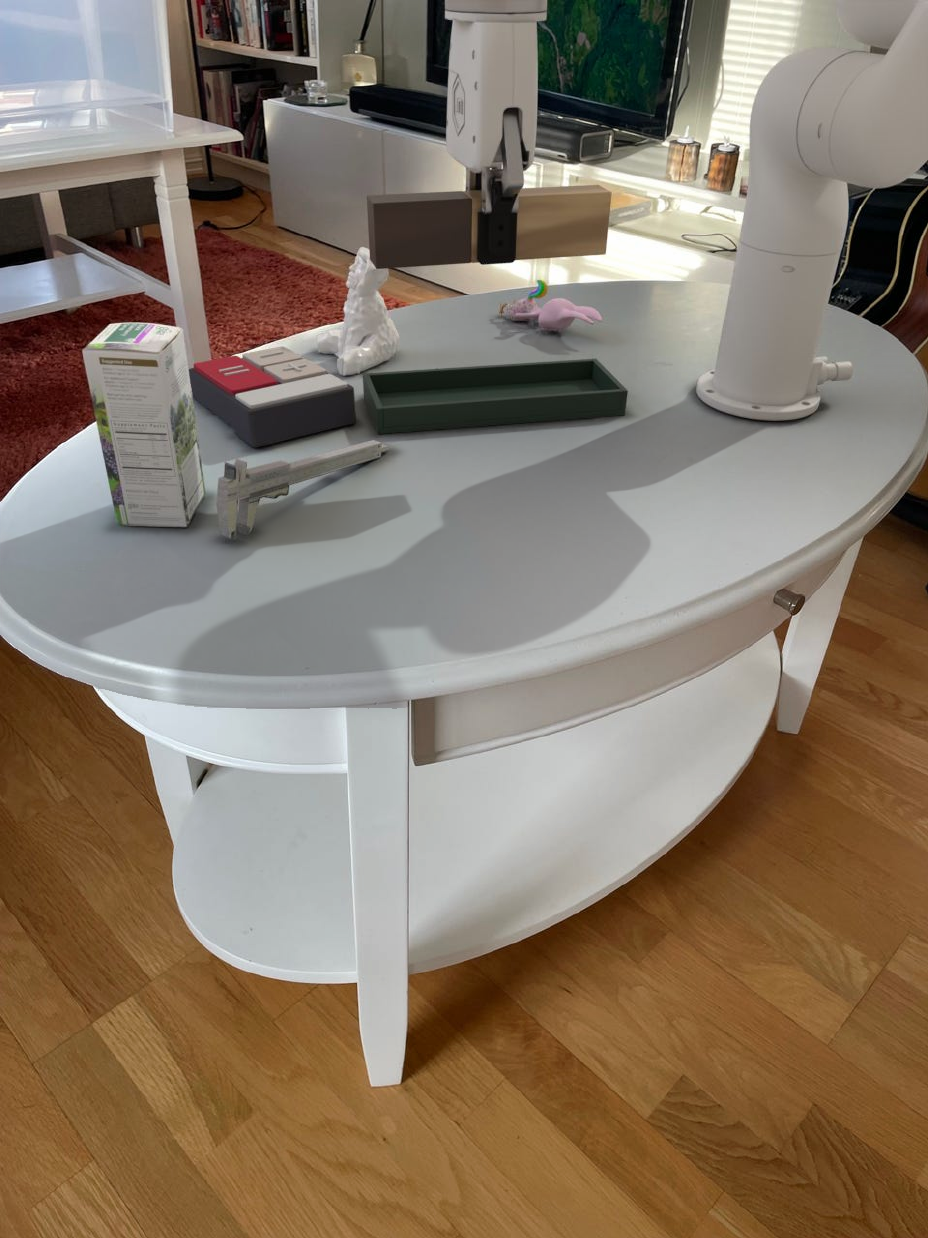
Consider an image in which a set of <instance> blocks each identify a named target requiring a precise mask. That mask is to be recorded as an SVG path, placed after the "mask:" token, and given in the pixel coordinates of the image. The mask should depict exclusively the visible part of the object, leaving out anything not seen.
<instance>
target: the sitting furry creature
mask: <svg viewBox="0 0 928 1238" xmlns="http://www.w3.org/2000/svg"><path fill="white" fill-rule="evenodd" d="M348 270H349V272H348V276H347V280H346V281H345V286H346V288H347V289H348V291H347V292H348V293H347V294H346V298H347V300H345V301H344V304H343V309H342V311H343V312H344V317H343V324H342V328H341V329H336V328H333V329H329V330H326V331H325V332H322V333H320V334H317V335H316V338H317V339H316V340H317V352H318V354H323V355H328V354H329V355H334V356H336V357H338V358H337V360H336V368H337V371H338V373H339V375H340V376H343V377H345V376H353V375H357V374H358V375H359V374H360V373H362V372H364V371H366V370H369V369H371V368H373V367H375V366H378V365H380V364H382V363H384V362H387V361H389V360H391V358H392V357H393V356H394V355H395V353H396V351H397V350H398V347H399V345H400V339H401V336H400V334H399V332H398V330H397V328H396V326H395V322H394V321H393V319H391V317H390V314H389V313H388V308H387V306H386V304H385V299H384V297H383V296H382V295H381V294H380V292H379V290H380V289H382V287H383V285H384V284H385V283H386V282H388V278H389V277H390V272H389V268H386V269H376V268H375V266H374V265H373V263H372V262H371V260H370V252H369V248H368V247H365V246H361V247H359V249H358V251H357V253H356V256H355V257H354V263H352V264H351V265H350V266H349V267H348Z"/></svg>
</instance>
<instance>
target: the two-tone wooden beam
mask: <svg viewBox="0 0 928 1238" xmlns="http://www.w3.org/2000/svg"><path fill="white" fill-rule="evenodd" d="M611 203H612V191H611V190H609V189H607V188H605V187H603V186H602V185H600V184H587V185H586V184H585V185H583V184H582V185H564V186H563V185H562V186H561V185H560V186H542V187H541V186H540V187H523V188H522V189H521V190H520V192H519V208H518V212H517V237H516V259H515V261H525V260H540V259H541V260H542V259H557V258H573V257H586V256H587V257H588V256H602V255H603V256H605V255H606V254H607V248H608V247H607V246H608V235H609V225H610V215H611ZM366 207H367V208H366V210H367V229H368V230H367V231H368V244H369V245H368V250H369V252H370V260H371V262H372V263H373V265H374V266H375V268H376V269H386V268H388V269H399V268H400V269H401V268H415V267H416V268H417V267H433V266H448V265H461V264H462V265H464V264H478V263H479V262H478V261H477V226H478V212H483V211H482V190H474V191H465V190H458V191H457V190H454V191H435V192H414V193H413V192H410V193H391V194H389V193H387V194H370V195H366ZM479 264H480V263H479Z"/></svg>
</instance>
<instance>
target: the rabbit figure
mask: <svg viewBox="0 0 928 1238" xmlns="http://www.w3.org/2000/svg"><path fill="white" fill-rule="evenodd" d="M536 283H537V288H535V289H533V290H531V291H530V293H528V295H527V296H526V297H525V298H518V300H515V298H514V297H512V299H513V302H512V304H510V303H508V302H507V301H505V302H504V304H502V302H501V301H499V304H500V305H499V310H498V316H499V315H500V318H501V317H503V314H504V313H505V311H504V308H505V310H506V313H507V316H508V318H509V319H510V320H511V321H512V322H528V321H530V320H531V321H532V322H538V325H539V326H540V327H541V328H542V329H545V330H547V331H548V332H558V330H564V329H567V328H568V327H570V326H571V325H572V324H573V322H574V321H575V319H579V320H582V321H584V322H585V323H588V324H590V325H594V324H595V322H594V321H597V322H599V323H601V322H603V318H602V316H601V313H600V312H599V311H598V310H597V309H595V308H594V307H590V306H584V305H581V306H579V305H578V306H577V305H575V304H574V303H573V302H571V301H570V300H568V299H566V298H562V297H556V298H552V299H550V300H548V301H547V302H546V303H545V304H544V305H543V307H539V306H538V305H537V302H536V300H535V299H542V298H544V297H545V296H546V295H547V294H548V289H549V288H548V284H547V283H546V282H545V281H544V280H542V279H538V280H537V279H536ZM593 320H594V321H593Z"/></svg>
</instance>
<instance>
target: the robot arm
mask: <svg viewBox="0 0 928 1238" xmlns="http://www.w3.org/2000/svg"><path fill="white" fill-rule="evenodd" d="M547 11H548V0H444V19H445V20H447V21H448V20H449V21H452V25H451V33H450V44H449V55H448V57H449V58H448V73H447V96H446V97H447V99H446V125H445V126H446V127H445V128H446V130H445V147H446V151H447V153H448V154H449V156H451V158H453V159H454V160H455V161H456V162H458V163H459V164H460V165H461V166H463V167H464V168H465V190H464V191H474V190H482V211H483V212H478V226H477V261H478V262H479V264H480V265H481V266H482V265H483V266H485V265H503V264H512V263H515V262H516V260H515V259H516V237H517V212H518V208H519V192H520V190H521V189H522V188H524V184H525V176H524V175H525V174H524V172H526V171H527V170H528V169H530V167H532V165H533V164H534V159H535V153H536V143H537V142H536V141H537V126H538V125H537V124H538V95H539V93H538V91H539V90H538V88H539V86H538V80H539V75H538V74H539V73H538V72H539V69H538V67H539V65H538V63H539V62H538V61H539V59H538V57H539V56H538V55H539V52H538V24H537V22H544V21H547V13H548V12H547ZM836 17H837V20H838V23H839V26H840V27H841V28H842V30H843V31H844V33H845V34H846V35H847V36H849V37H850V38H851V39H853V40H854V41H856V42H858V43H861V44H864V45H868V46H871V47H875V48H879V49H885V50H888V51H886V53H885V54H881V53H874V52H869V51H865V50H858V49H851V48H850V49H849V48H843V47H835V46H834V47H833V46H813V47H806V48H802V49H799V50H797V51H794V52H792V53H789V54H787V55H786V56H785V57H783V58H781V59H780V60H779V61H778V62H776V64H775V65H774V66H773V67H771V69H770V70H768V72H767V73H766V75H765V76H764V77H763V80H762V81H761V83H760V85H759V87H758V89H757V92H756V94H755V96H754V99H753V103H752V107H751V112H750V118H749V119H750V120H749V121H750V122H749V155H748V156H749V163H748V164H749V165H748V180H747V189H746V197H745V204H744V210H743V217H742V222H741V227H740V232H739V237H738V243H737V248H736V253H735V258H734V265H733V269H732V276H731V279H730V286H729V292H728V296H727V302H726V307H725V312H724V319H723V323H722V328H721V334H720V340H719V344H718V350H717V355H716V361H715V367H714V369H711V370H708V371H706V372H704V373H703V374H702V375H700V376H699V377H698V378H697V383H696V387H695V393H696V395H697V397H698V398H699V399H700V400H701V401H702V402H703V403H705V404H706V405H708V406H709V407H711V408H713V409H715V410H716V411H720V412H723V413H725V414H728V415H732V416H736V417H739V418H744V419H749V420H757V421H767V422H769V421H770V422H779V421H781V422H783V421H792V420H798V419H802V418H806V417H808V416H810V415H812V414H814V413H815V412H816V411H817V410H818V408H819V406H820V402H821V398H822V396H821V392H820V391H819V390H818V388H817V387H818V386H822V385H823V384H824V383H825V382H826V381H827V382H828V381H829V382H830V381H831V382H839V381H848V380H850V379H851V378H852V377H853V373H854V366H853V363H852V362H851V361H849V360H847V361H835V362H831V363H830V362H829V359H828V357H827V356H816V354H817V350H818V345H819V341H820V338H821V333H822V330H823V325H824V322H825V317H826V313H827V309H828V305H829V301H830V297H831V292H832V289H833V284H834V280H835V276H836V273H837V268H838V264H839V260H840V257H841V253H842V249H843V246H844V242H845V238H846V233H847V227H848V221H849V209H850V208H849V207H850V206H849V205H850V204H849V191H848V184H849V185H850V184H851V185H854V186H858V187H863V188H868V189H886V188H891V187H893V186H897V185H899V184H901V183H902V182H904V181H906V180H908V179H909V178H910V177H911V176H913V175H914V174H915V173H917V171H919V170H920V169H921V168H922V167H923V166H924V165H925V164H926V163H927V161H928V0H836Z"/></svg>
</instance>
